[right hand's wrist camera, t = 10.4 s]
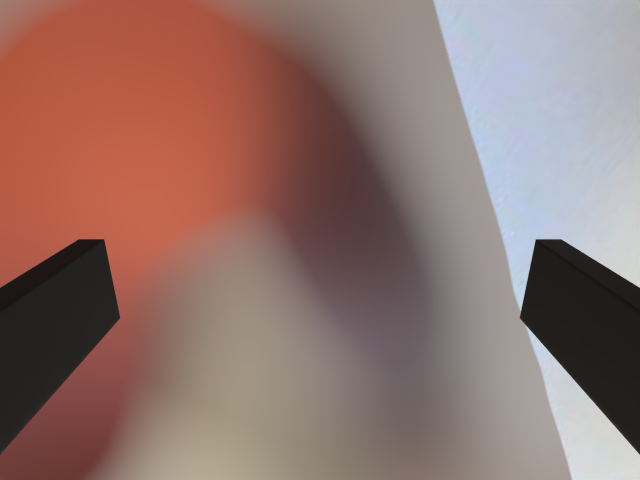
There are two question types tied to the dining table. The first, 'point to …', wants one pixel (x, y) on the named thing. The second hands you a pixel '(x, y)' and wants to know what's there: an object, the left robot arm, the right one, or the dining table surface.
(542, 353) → the dining table surface
